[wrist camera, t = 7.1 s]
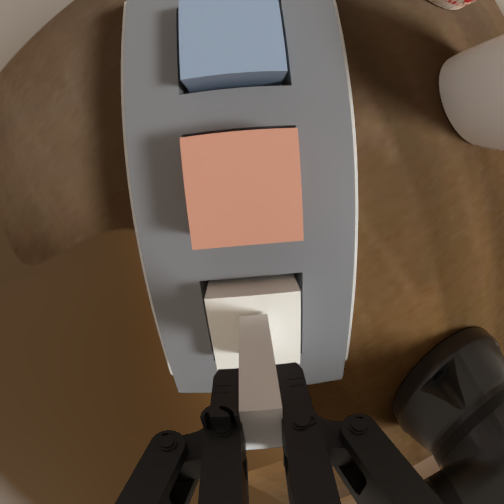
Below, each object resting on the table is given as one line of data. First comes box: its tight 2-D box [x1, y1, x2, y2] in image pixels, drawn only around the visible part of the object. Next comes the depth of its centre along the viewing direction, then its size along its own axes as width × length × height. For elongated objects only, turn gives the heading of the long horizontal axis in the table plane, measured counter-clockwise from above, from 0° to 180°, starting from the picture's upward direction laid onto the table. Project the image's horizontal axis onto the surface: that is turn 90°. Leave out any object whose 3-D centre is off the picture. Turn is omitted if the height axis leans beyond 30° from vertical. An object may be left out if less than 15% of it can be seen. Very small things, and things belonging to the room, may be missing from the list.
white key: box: [204, 273, 301, 371], centre depth 17 cm, size 5×5×3 cm
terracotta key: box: [180, 128, 304, 250], centre depth 13 cm, size 5×5×3 cm
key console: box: [121, 0, 358, 393], centre depth 16 cm, size 30×15×4 cm, turn 4°
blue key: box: [179, 0, 288, 93], centre depth 12 cm, size 5×5×3 cm
